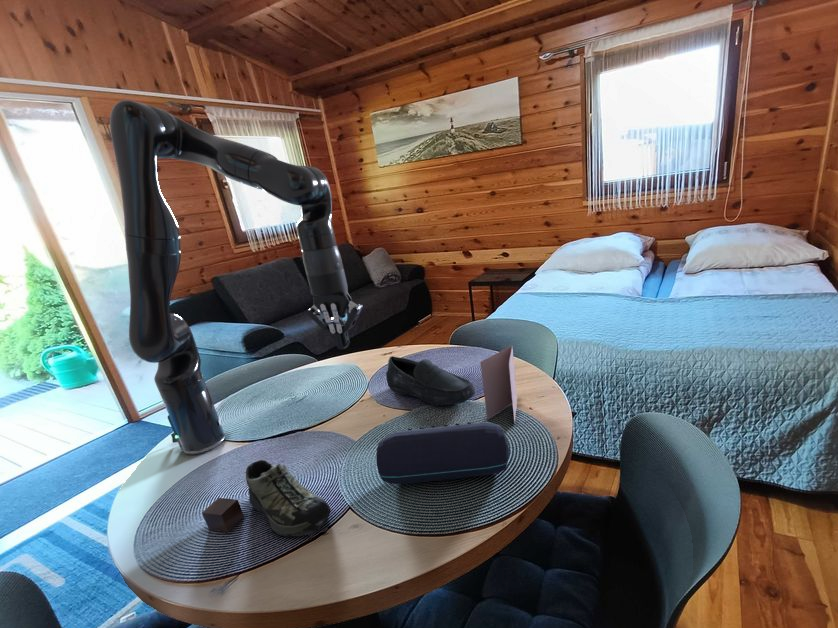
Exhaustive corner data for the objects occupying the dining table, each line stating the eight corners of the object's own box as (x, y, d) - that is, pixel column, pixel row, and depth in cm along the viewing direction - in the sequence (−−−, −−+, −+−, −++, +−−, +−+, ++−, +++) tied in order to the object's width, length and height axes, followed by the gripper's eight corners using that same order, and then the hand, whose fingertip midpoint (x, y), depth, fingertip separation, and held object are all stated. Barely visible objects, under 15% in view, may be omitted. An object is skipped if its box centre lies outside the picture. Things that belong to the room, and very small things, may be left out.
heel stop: (208, 530, 78) (201, 512, 77) (225, 514, 82) (218, 497, 80) (228, 532, 77) (221, 515, 75) (244, 516, 80) (237, 499, 79)
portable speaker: (508, 452, 89) (503, 410, 85) (513, 484, 80) (508, 438, 76) (388, 465, 90) (379, 423, 86) (379, 497, 81) (368, 452, 77)
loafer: (464, 414, 106) (459, 376, 102) (377, 396, 121) (369, 362, 117) (484, 395, 114) (480, 359, 110) (400, 380, 129) (394, 348, 125)
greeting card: (514, 399, 110) (509, 344, 104) (538, 406, 105) (534, 349, 99) (484, 419, 102) (477, 361, 97) (508, 428, 97) (502, 367, 92)
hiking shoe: (302, 551, 71) (287, 505, 67) (235, 509, 82) (219, 468, 79) (343, 517, 77) (331, 474, 74) (274, 483, 89) (261, 444, 85)
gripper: (362, 264, 91) (378, 341, 97) (308, 268, 94) (326, 342, 101) (343, 271, 84) (362, 353, 90) (286, 276, 88) (308, 354, 94)
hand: (343, 347), depth 95 cm, fingers closed
